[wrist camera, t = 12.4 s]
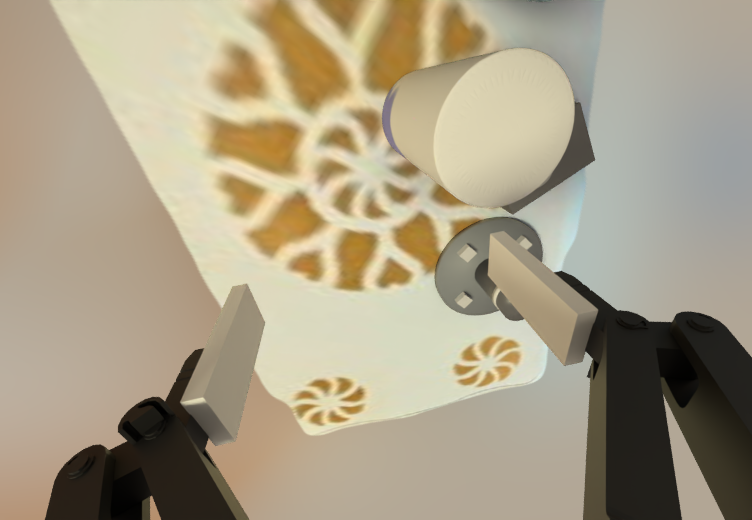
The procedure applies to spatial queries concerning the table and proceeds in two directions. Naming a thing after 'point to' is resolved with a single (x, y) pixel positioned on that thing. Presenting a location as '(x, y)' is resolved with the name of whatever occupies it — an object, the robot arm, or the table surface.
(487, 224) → the plate
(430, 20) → the table surface
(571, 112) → the container
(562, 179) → the camera body block
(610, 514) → the robot arm
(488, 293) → the grey rounded cylinder
